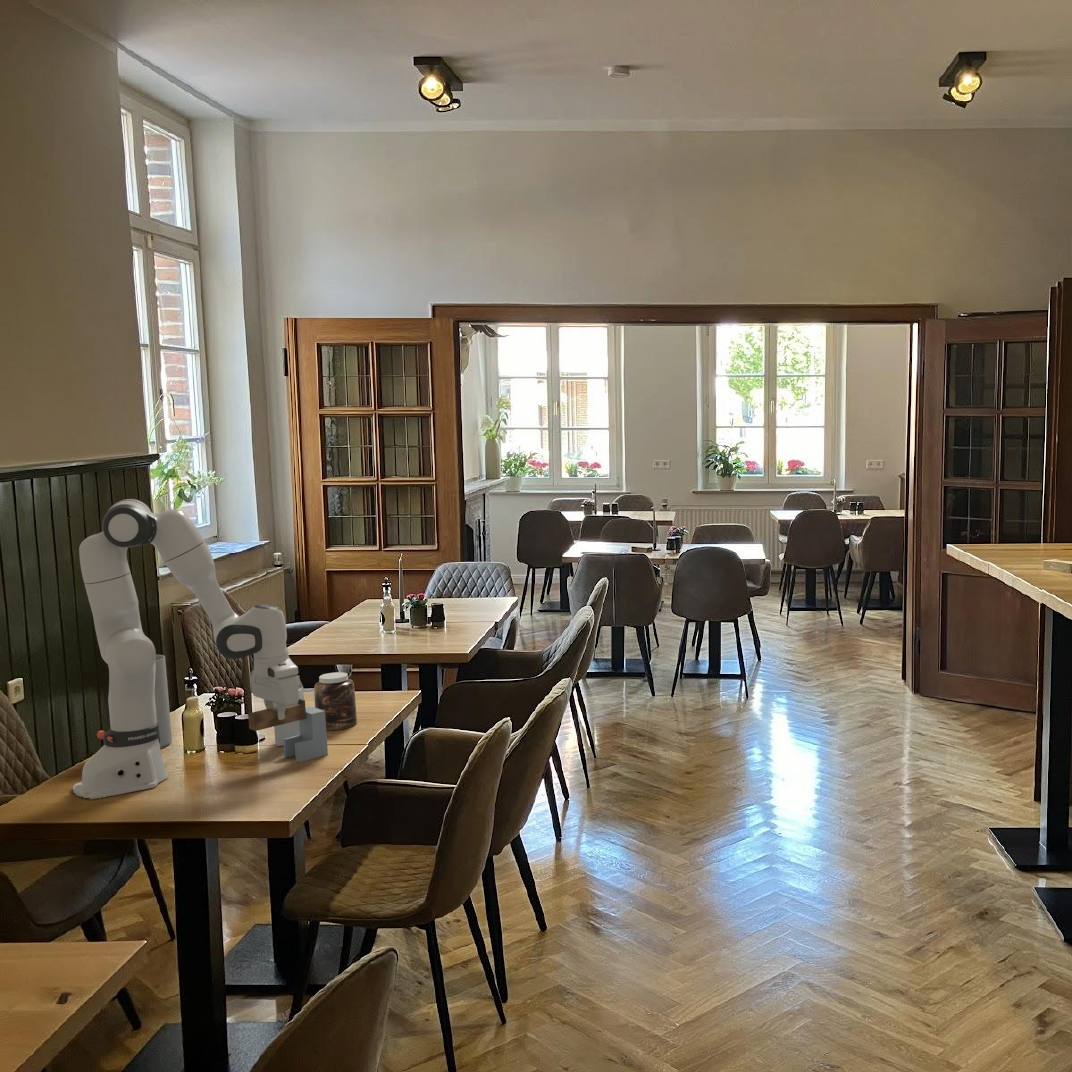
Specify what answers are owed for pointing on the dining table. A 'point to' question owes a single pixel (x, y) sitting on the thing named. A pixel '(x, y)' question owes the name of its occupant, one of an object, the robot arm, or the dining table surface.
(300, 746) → the blue l-shaped block
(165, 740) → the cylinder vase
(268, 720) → the rail
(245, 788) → the dining table surface
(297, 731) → the milk carton
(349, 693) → the jar
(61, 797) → the dining table surface
